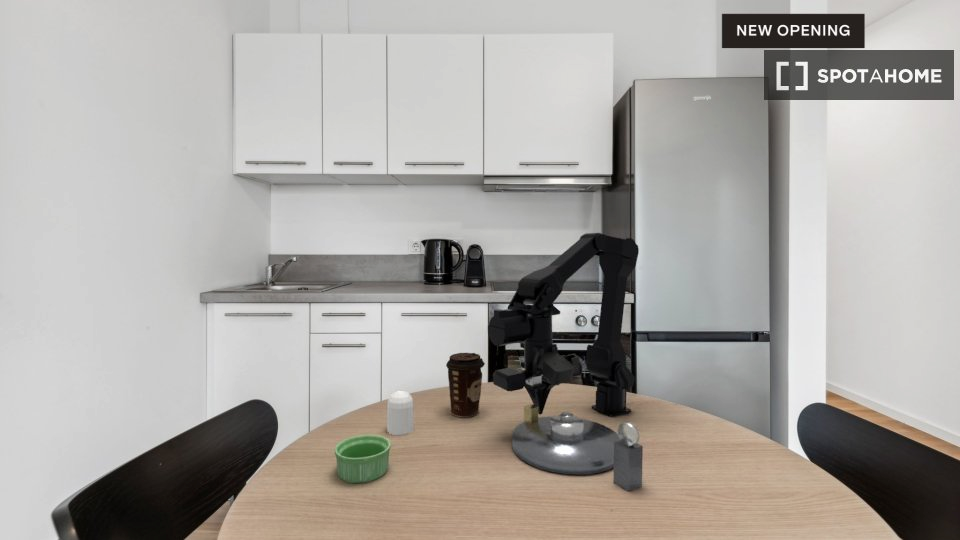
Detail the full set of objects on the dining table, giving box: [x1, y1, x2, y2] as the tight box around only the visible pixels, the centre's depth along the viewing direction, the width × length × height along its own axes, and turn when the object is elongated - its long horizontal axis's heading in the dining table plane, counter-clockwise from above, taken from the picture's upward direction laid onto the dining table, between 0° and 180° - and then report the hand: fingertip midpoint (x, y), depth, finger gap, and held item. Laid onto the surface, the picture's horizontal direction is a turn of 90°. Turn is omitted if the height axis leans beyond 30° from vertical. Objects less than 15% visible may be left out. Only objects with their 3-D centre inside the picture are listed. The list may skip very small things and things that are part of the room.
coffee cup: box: [445, 352, 486, 418], centre depth 99 cm, size 9×8×13 cm
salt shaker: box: [386, 390, 415, 436], centre depth 89 cm, size 5×5×8 cm
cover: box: [550, 411, 584, 444], centre depth 81 cm, size 6×6×4 cm
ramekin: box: [334, 434, 392, 484], centre depth 73 cm, size 9×9×4 cm
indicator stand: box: [612, 421, 644, 493], centre depth 69 cm, size 3×3×10 cm
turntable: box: [511, 403, 621, 475], centre depth 81 cm, size 20×20×5 cm
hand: (539, 413), depth 90 cm, fingers closed
